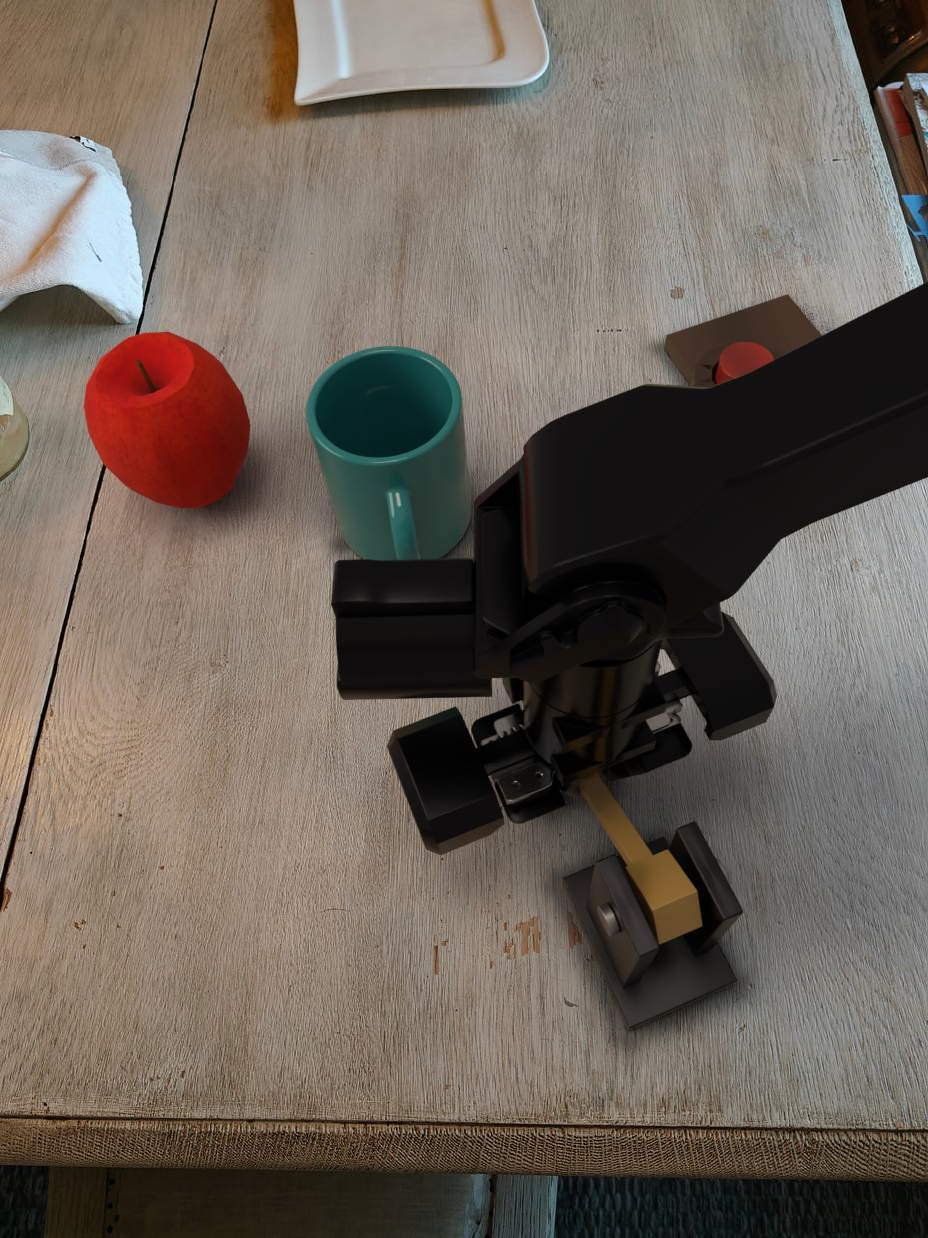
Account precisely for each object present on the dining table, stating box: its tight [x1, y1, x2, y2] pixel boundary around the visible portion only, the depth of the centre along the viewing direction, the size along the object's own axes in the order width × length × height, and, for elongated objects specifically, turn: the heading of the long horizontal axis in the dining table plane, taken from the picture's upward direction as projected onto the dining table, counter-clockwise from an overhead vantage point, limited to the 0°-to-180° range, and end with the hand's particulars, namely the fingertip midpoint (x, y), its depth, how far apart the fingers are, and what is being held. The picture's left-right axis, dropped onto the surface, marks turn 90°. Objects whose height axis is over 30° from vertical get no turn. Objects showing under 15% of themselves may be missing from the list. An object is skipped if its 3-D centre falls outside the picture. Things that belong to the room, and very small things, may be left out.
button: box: [716, 342, 774, 385], centre depth 64 cm, size 4×4×2 cm
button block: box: [663, 293, 823, 387], centre depth 67 cm, size 11×10×3 cm
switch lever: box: [553, 767, 703, 944], centre depth 48 cm, size 13×3×3 cm, turn 21°
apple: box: [83, 331, 252, 509], centre depth 62 cm, size 10×10×12 cm
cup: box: [305, 345, 473, 560], centre depth 59 cm, size 9×12×11 cm
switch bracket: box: [562, 820, 744, 1032], centre depth 46 cm, size 8×6×10 cm
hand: (575, 784), depth 55 cm, fingers closed on switch lever, 3 cm apart
